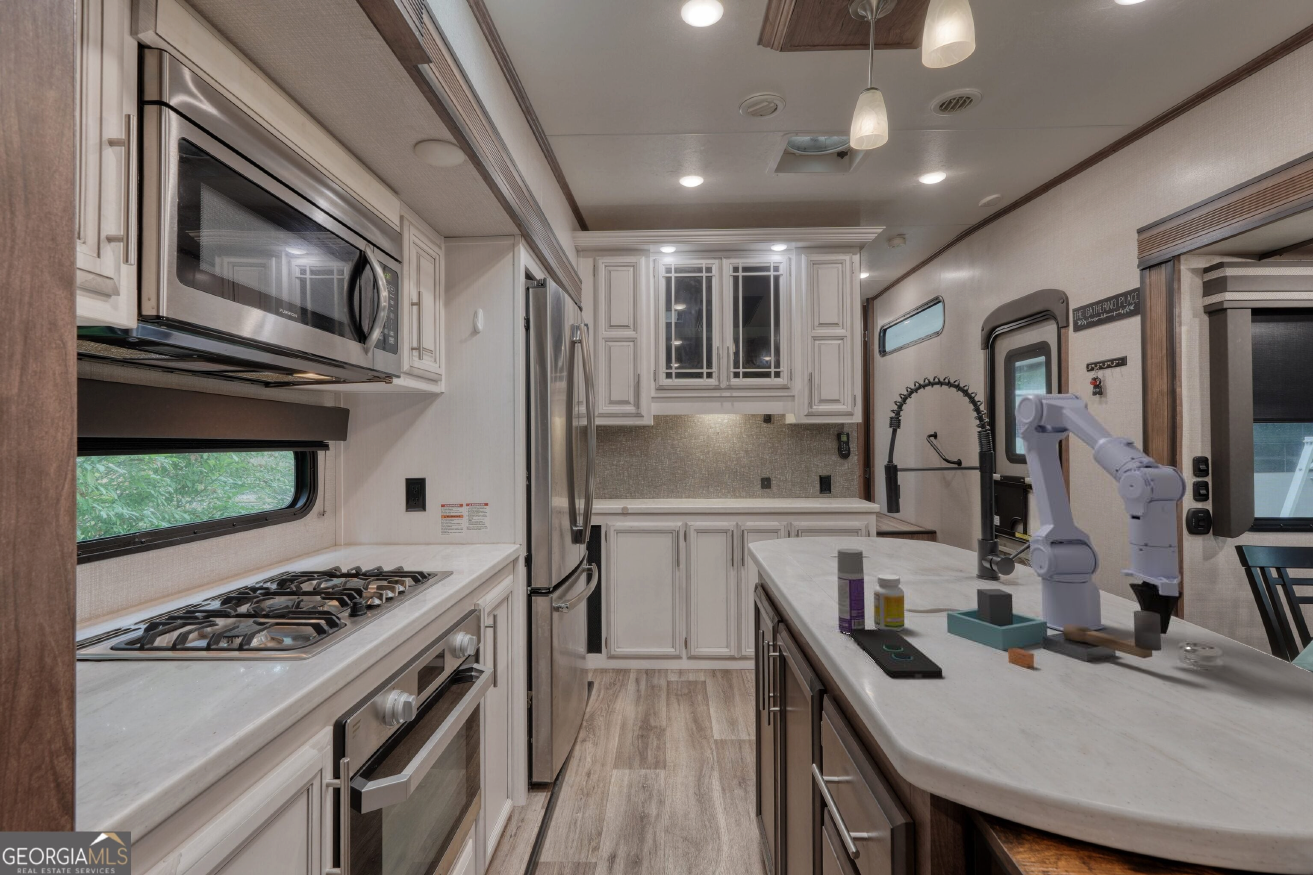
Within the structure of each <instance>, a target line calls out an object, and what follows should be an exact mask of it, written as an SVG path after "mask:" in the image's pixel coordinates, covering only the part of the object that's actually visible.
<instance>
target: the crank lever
mask: <svg viewBox="0 0 1313 875" xmlns="http://www.w3.org/2000/svg"><path fill="white" fill-rule="evenodd" d="M1133 627H1134V628H1133V629H1134V632H1133V633H1134V641H1132V640H1130V639H1126V638H1121V637H1118V636H1115V635H1110V634H1106V633H1103V632H1098V631H1096V630H1092V629H1090V628H1087V627H1083V626H1077V625H1065V626H1063V631H1062V633H1063V636H1064V637H1065V638H1067V639H1070V640H1074V641H1081V642H1088V643H1091V644H1095V645H1098V646H1102V647H1105V648H1109V649H1112V650H1116V652H1120V653H1124V654H1127V655H1130V656H1134V657H1138V658H1141V659H1147V658H1152V657H1153V651H1154V652H1158V651H1161V650H1162V634H1161V628H1160V614H1157V613H1154V612H1149V611H1141V610H1134V611H1133Z"/></svg>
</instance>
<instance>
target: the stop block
mask: <svg viewBox="0 0 1313 875" xmlns="http://www.w3.org/2000/svg"><path fill="white" fill-rule="evenodd" d="M976 595H977V596H976V598H977V599H976V600H977V603H976V604H977V608H978V620H979V621H982V622H986V623H989V624H992V625H996V626H999V627H1003V626H1009V625H1013V612H1014V611H1013V610H1014V609H1013V593H1010V592H1008V591H1005V590H1003V589H1001V588H977V589H976Z"/></svg>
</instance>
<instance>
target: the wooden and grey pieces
mask: <svg viewBox="0 0 1313 875" xmlns="http://www.w3.org/2000/svg"><path fill="white" fill-rule="evenodd" d="M1042 648H1043V650H1047V651H1050V652H1054V653H1057V654H1060V655H1063V656H1066V657H1070V658H1072V659H1077V660H1079V661H1082V662H1085V663H1089V662H1093V661H1100V660H1104V659H1107V658H1108V659H1109V658H1113V657H1116V656H1117V654H1116V653H1117V651H1116V650H1112V649H1109V648H1105V647H1102V646H1098V645H1095V644H1091V643H1088V642H1081V641H1074V640H1070V639H1067V638H1065V637H1064V636H1063V632H1058V633H1054V634H1047V636H1043V643H1042ZM1007 653H1008V654H1007V655H1008V662H1009V663H1011V664H1014V665H1017V666H1019V667H1022V668H1025V669H1029V668H1034V667H1035V655H1034V653H1033V652H1030V651H1027V650H1023V649H1021V648H1019V647H1018V648H1011V649H1008V650H1007Z"/></svg>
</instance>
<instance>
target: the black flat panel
mask: <svg viewBox="0 0 1313 875" xmlns="http://www.w3.org/2000/svg"><path fill="white" fill-rule="evenodd" d="M851 637H852V638H853V639H854V640H853V639H852V638H851ZM850 638H851V639H852V640H853V642H855V644H857V646H858V647H859V648H860V649H861V648H862V649H863V650H864V651H865V652H866V653H867V654H868V655H869V656H870V657H871V658H872V659H873V660H874V661H875V662H874V661H873V660H872V659H871V658H870V657H869V656H868V655H867V654H866V653H865V652H864V651H863V650H862V649H861V650H862V651H863V652H864V653H865V654H866V655H867V656H868V657H869V658H870V659H871V660H872V661H873V662H874V664H875V665H876V666H879V667H880V668H881V669H882V670H883V671H882V670H881V669H880V670H881V671H882V672H883V673H884V674H885V675H886V676H887V677H888V678H890V679H943V668H942V667H940V665H939V664H937V663H936V662H934V661H933V660H932V659H931V658H929V657H928V656H927V655H926V654H925V653H923V652H922V651H921V650H920V649H919V648H917V647H916V646H914V644H912V642H910V641H908V639H906V638H905V637H904V636H903V635H901V634H900V633H899V631H895V630H892V629H879V628H876V629H875V628H874V629H869V628H868V629H867V628H865V629H853V630H851V635H850ZM879 667H878V668H879Z"/></svg>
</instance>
